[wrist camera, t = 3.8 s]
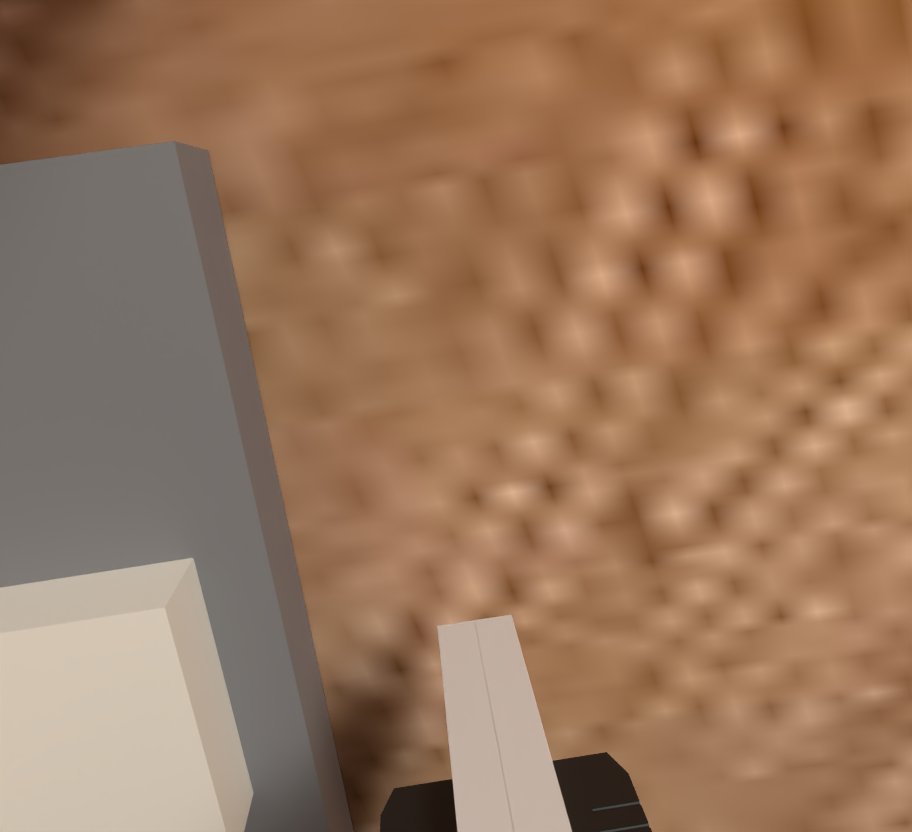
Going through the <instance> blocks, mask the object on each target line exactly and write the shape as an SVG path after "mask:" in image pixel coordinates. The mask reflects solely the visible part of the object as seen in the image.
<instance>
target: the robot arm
mask: <svg viewBox="0 0 912 832" xmlns="http://www.w3.org/2000/svg"><path fill="white" fill-rule="evenodd" d="M438 636H439V646H440V657H441V667H442V677H443V687H444V698H445V708H446V718H447V729H448V739H449V749H450V760H451V770H452V779H450V780H444V781H438V782H432V783H425V784H419V785H413V786H407V787H401V788H394V789H393V791H392V794H391V796H390V798H389V800H388V802H387V804H386V806H385V808H384V810H383V812H382V814H381V820H380V832H652V831H651V828H649V825H648V821H647V818H646V816H645V813H644V811H643V808H642V806H641V805H640V803H639V799H638V796H637V794H636V791H635V789H634V786H633V784H632V781H631V779H630V776H629V774H628V773H627V772H626V771H625V770H624V769H623V768H622V767H621V766H620V765H619V764H618V763H617V762H616V761H615V760H614V759H613V758H612V757H611V756H610V755H609V754H608V753H607V752H605V753H599V754H593V755H587V756H580V757H574V758H568V759H562V760H555V761H552V758H551V754H550V751H549V747H548V744H547V740H546V736H545V733H544V729H543V726H542V722H541V719H540V715H539V711H538V708H537V704H536V701H535V697H534V693H533V690H532V686H531V683H530V679H529V676H528V672H527V668H526V665H525V661H524V658H523V654H522V651H521V647H520V643H519V640H518V636H517V633H516V629H515V626H514V622H513V618H512V615H507V616H500V617H494V618H487V619H480V620H474V621H467V622H461V623H454V624H448V625H441V626H438Z"/></svg>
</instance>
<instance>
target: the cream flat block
mask: <svg viewBox="0 0 912 832" xmlns="http://www.w3.org/2000/svg"><path fill="white" fill-rule="evenodd" d="M252 797H253V789H252V785H251V781H250V777H249V773H248V770H247V766H246V762H245V758H244V754H243V750H242V746H241V742H240V738H239V734H238V730H237V727H236V723H235V719H234V715H233V711H232V707H231V703H230V699H229V695H228V691H227V687H226V684H225V680H224V676H223V672H222V668H221V664H220V660H219V656H218V652H217V648H216V644H215V641H214V637H213V633H212V629H211V625H210V621H209V617H208V613H207V609H206V605H205V602H204V598H203V594H202V590H201V586H200V582H199V578H198V574H197V570H196V566H195V562H194V559H193V558H188V559H182V560H175V561H169V562H163V563H156V564H150V565H143V566H137V567H130V568H124V569H117V570H111V571H105V572H98V573H92V574H85V575H79V576H72V577H66V578H60V579H53V580H47V581H40V582H34V583H27V584H21V585H14V586H8V587H2V588H0V832H244V830H245V826H246V822H247V818H248V813H249V809H250V805H251V801H252Z"/></svg>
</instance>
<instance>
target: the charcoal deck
mask: <svg viewBox="0 0 912 832" xmlns="http://www.w3.org/2000/svg"><path fill="white" fill-rule="evenodd" d="M188 558H193V559H194V562H195V566H196V570H197V574H198V578H199V582H200V586H201V590H202V594H203V598H204V602H205V605H206V609H207V613H208V617H209V621H210V625H211V629H212V633H213V637H214V641H215V644H216V648H217V652H218V656H219V660H220V664H221V668H222V672H223V676H224V680H225V684H226V687H227V691H228V695H229V699H230V703H231V707H232V711H233V715H234V719H235V723H236V727H237V730H238V734H239V738H240V742H241V746H242V750H243V754H244V758H245V762H246V766H247V770H248V773H249V777H250V781H251V785H252V789H253V797H252V801H251V805H250V809H249V813H248V818H247V822H246V826H245V830H244V832H354V831H353V826H352V821H351V817H350V812H349V807H348V803H347V798H346V793H345V789H344V784H343V779H342V775H341V770H340V765H339V761H338V756H337V751H336V746H335V742H334V737H333V732H332V728H331V723H330V718H329V714H328V709H327V704H326V700H325V695H324V690H323V686H322V681H321V676H320V672H319V667H318V662H317V658H316V653H315V648H314V644H313V639H312V634H311V630H310V625H309V620H308V616H307V611H306V606H305V602H304V597H303V592H302V588H301V583H300V578H299V574H298V569H297V564H296V560H295V555H294V550H293V546H292V541H291V536H290V532H289V527H288V522H287V518H286V513H285V508H284V504H283V499H282V494H281V490H280V485H279V480H278V476H277V471H276V466H275V462H274V457H273V452H272V447H271V443H270V438H269V433H268V429H267V424H266V419H265V415H264V410H263V405H262V401H261V396H260V391H259V387H258V382H257V377H256V373H255V368H254V363H253V359H252V354H251V349H250V345H249V340H248V335H247V331H246V326H245V321H244V317H243V312H242V307H241V303H240V298H239V293H238V289H237V284H236V279H235V275H234V270H233V265H232V261H231V256H230V251H229V247H228V242H227V237H226V233H225V228H224V223H223V219H222V214H221V209H220V205H219V200H218V195H217V191H216V186H215V181H214V177H213V172H212V167H211V162H210V158H209V153H208V151H207V150H204V149H200V148H197V147H193V146H190V145H186V144H183V143H179V142H175V141H172V142H164V143H157V144H150V145H142V146H135V147H127V148H120V149H113V150H105V151H98V152H90V153H83V154H76V155H68V156H61V157H53V158H46V159H39V160H31V161H24V162H16V163H9V164H2V165H0V588H2V587H8V586H14V585H21V584H27V583H34V582H40V581H47V580H53V579H60V578H66V577H72V576H79V575H85V574H92V573H98V572H105V571H111V570H117V569H124V568H130V567H137V566H143V565H150V564H156V563H163V562H169V561H175V560H182V559H188Z"/></svg>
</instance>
